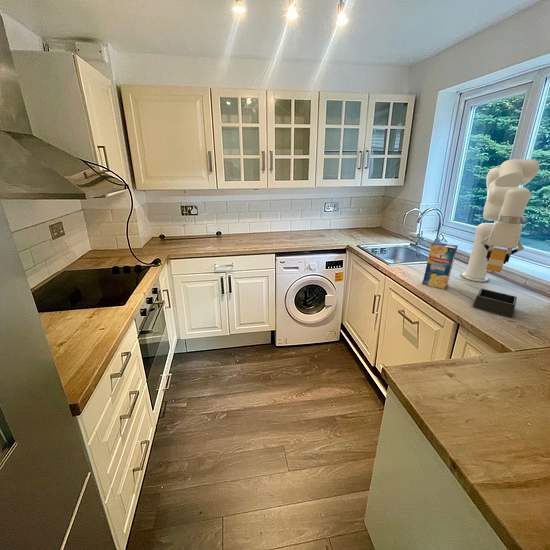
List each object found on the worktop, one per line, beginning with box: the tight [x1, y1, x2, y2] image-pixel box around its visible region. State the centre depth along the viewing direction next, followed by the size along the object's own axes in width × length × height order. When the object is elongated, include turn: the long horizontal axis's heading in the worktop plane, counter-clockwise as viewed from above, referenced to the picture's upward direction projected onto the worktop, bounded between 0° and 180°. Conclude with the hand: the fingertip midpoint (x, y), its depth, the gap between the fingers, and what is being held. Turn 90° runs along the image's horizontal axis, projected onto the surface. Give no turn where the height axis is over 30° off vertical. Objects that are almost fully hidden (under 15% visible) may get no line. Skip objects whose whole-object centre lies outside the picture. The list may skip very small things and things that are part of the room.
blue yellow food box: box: [422, 241, 459, 290], centre depth 150 cm, size 7×11×22 cm, turn 51°
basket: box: [473, 287, 518, 318], centre depth 129 cm, size 14×12×6 cm
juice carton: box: [486, 247, 508, 273], centre depth 124 cm, size 6×5×9 cm
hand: (496, 261), depth 125 cm, fingers closed on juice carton, 5 cm apart
